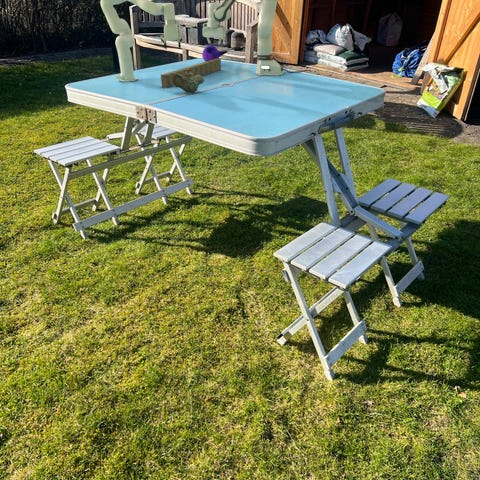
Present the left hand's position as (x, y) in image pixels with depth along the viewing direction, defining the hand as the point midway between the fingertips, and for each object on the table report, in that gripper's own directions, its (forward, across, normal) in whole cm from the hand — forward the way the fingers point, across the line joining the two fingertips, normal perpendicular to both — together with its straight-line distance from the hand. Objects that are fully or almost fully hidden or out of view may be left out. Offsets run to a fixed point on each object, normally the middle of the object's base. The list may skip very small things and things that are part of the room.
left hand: (172, 48), depth 325 cm
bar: (+23, -13, -12) cm, 29 cm away
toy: (+23, -29, -69) cm, 78 cm away
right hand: (+2, -30, -40) cm, 50 cm away
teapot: (+23, -12, +40) cm, 48 cm away
